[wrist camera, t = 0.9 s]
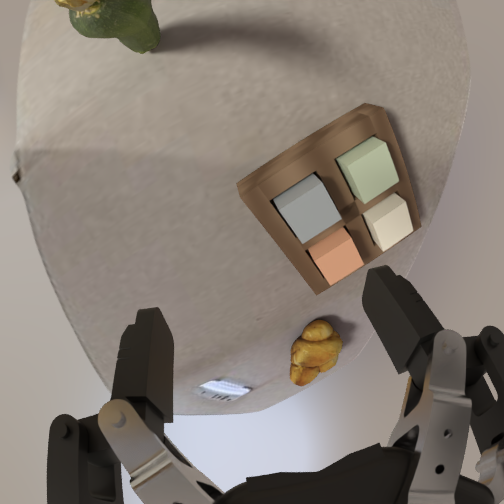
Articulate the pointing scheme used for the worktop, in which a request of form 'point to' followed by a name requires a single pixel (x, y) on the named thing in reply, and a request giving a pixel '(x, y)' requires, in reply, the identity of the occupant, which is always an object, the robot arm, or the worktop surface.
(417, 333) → the robot arm
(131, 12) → the vegetable
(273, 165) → the keypad
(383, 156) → the key sage
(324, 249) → the key terracotta
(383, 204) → the key cream
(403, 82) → the worktop surface
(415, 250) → the worktop surface
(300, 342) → the bread roll
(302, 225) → the key slate
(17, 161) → the worktop surface
